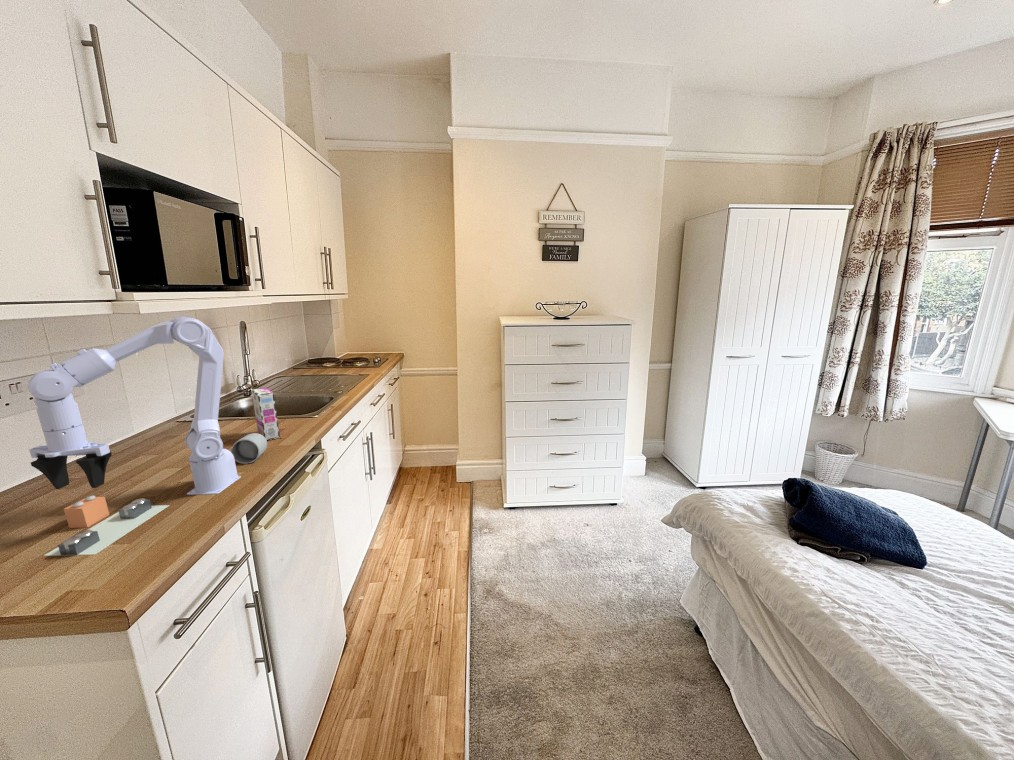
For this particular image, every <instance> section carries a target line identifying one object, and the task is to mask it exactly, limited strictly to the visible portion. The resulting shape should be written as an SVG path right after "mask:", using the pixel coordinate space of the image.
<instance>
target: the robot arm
mask: <svg viewBox="0 0 1014 760" xmlns="http://www.w3.org/2000/svg"><path fill="white" fill-rule="evenodd" d="M175 341H176V342H179V343H180V344H182V345H185V346H186V347H188V348H189V349H190V351H192V352H193V353H194V354H195V355H197V356H198V367H197V377H196V378H197V379H196V388H195V390H196V391H195V400H194V402H195V403H194V411H193V412H194V414H193V420H192V421H191V424H190V430H189V431H188V433H187V434H186V436H185V438H184V439H185V440H184V443H185V445H186V447H187V448H188V449H190V451H191V453H190V455H189V456H188V462H189V466H190V472H191V475H192V479H193V483H194V488H192V489H191V490H190V491H188V492H187V493H186V496H189V495H190V496H191V495H199V496H200V495H218V494H220V493H221V492H223V491H224V490H225V489H227V488H228V487H229V486H231V485H233V483H235V482H236V481H238V480H239V479H240V478H241V477H242V476H241V475H238V469H237V465H236V460H235V459H234V456H233V454H232V453H231V450H228V448H224V443H223V440H222V438H221V436H220V435H221V433H220V432H221V428H220V425H219V421H218V420H219V410H220V401H221V389H222V388H221V387H222V379H223V370H224V369H223V368H224V357H225V353H224V352H225V351H224V349H223V347H222V346H221V344H220V343H219V341H218V340H217V338H216V336H215V335H214V333H213V331H212V329H211V328H210V327H209V326H207V325H206V324H204V322H202V321H201V320H199V319H198V318H193V317H188V316H176V317H174V318H172V319H171V320H166V321H162V322H160V323H157V324H155V325H152V326H149V327H148V328H145V329H143V330H141V331H139V332H138V333H135V334H134V335H131V336H129V337H128V338H125V339H123V340H121V341H119V342H118V343H116V344H114V345H111V346H110V347H108V348H106V349H101V348H93V347H92V348H90V349H88V350H86V349H85V348H82V349H80V350H77V355H75V356H73V357H70V358H68V359H66V360H63V361H62V362H60V363H56V362H54V363H52V364H49V367H50V369H43V370H40V371H38V372H36V373H34V374H33V375H32V377H31V378H30V380H29V382H28V386H27V387H28V391H29V392H30V394H31V395H32V396H33V397H34V403H35V406H36V407H37V408H36V413H37V416H38V420H39V423H40V427H41V429H42V430H41V431H42V432H43V436H44V440H45V443H46V445H38V446H35V447H32V448H30V449H28V451H29V454H30V457H31V458H32V459H34V458H35V459H36V460H33V461H31V462H30V466H31V467H32V468H35V469H36V470H37V471H40V472H41V474H42V475H44V476H45V477H46V478H47V480H48V481H49V482H50V483H51V484H52V486H53V487H54V488H55V490H60V489H63V488H64V487H67V486H69V485H70V477H69V473H68V467H67V466H68V465H67V463H68V456H71V457H72V456H75V457H76V456H85V457H82V458H80V459H77V460H75V463H76V464H77V465H78V467H80V468H81V470H82V471H83V472H84V474H85V476H86V478H87V480H88V483H89V486H90V487H91V488H92V489H97V488H99V487H102V485H104V484H105V479H106V478H105V477H106V470H107V466H108V463H109V460H110V458H111V457H112V451H110V447H109V444H108V443H99V442H93V441H89V440H88V437H87V432H86V430H85V426H84V423H83V419H82V416H81V412H80V409H79V405H78V402H76V401H75V397H74V394H73V389H74V388H81V387H83V386H85V385H87V384H90V383H92V382H94V381H95V380H97V379H98V380H99V378H101V377H103V376H104V377H105V376H106V375H107V374H110V373H112V372H113V371H115V370H116V365H117V363H118V362H119V361H122V360H123V359H126V358H128V357H131V356H133V355H134V354H137V353H139V352H141V351H144V350H146V349H149V348H151V347H153V346H154V345H158V344H159V345H160V344H161V345H162V344H169V345H170V344H175Z"/></svg>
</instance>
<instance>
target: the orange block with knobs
mask: <svg viewBox="0 0 1014 760" xmlns="http://www.w3.org/2000/svg"><path fill="white" fill-rule="evenodd" d="M63 512H64V515H65V518H66V523H67V524H68V528H70V529H73V528H74V529H76V528H78V529H79V528H83V529H84V528H89V527H91V526H92V525H93V526H94V524H97V523H99V522H101V520H103V519H106V517H108V516H111V515H110V511H109V507H108V503H107V500H106V497H105V496H96V495H89V496H86V497H85V498H82V499H81V500H79V501H76V502H74V503H72V504H71V505H69V506H67V507H64V508H63Z"/></svg>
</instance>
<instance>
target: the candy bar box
mask: <svg viewBox="0 0 1014 760" xmlns="http://www.w3.org/2000/svg"><path fill="white" fill-rule="evenodd" d="M274 394H275V393H274V392H273V391H271V390H270V389H268V387H262V388H261V387H260V388H253V389H251V395H252V402H253V410H254V414H255V421H256V426H257V433H258V434H261V435H263V436H264V437H265V438H266V440H268V441H271V440H270V439H273V440H275V439H274V438H277V439H279V438H278V437H280V438H281V435H280V434H281V433H280V429H279V428H280V427H279V422H278V414H277V407H276V406H277V405H276V400H275V399H276V398H275V395H274Z"/></svg>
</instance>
